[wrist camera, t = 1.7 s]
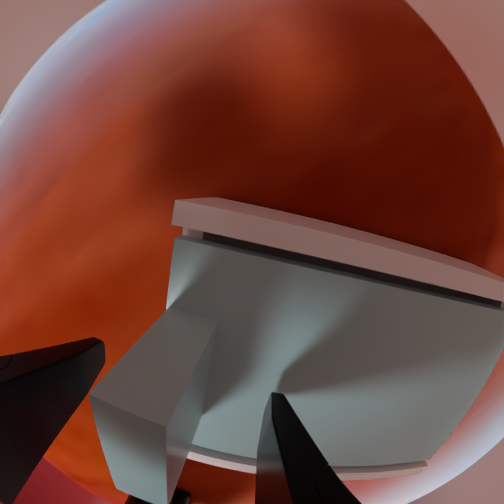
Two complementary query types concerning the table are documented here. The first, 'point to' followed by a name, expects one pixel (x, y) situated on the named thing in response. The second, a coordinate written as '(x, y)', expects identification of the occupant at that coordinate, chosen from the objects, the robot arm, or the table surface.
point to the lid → (290, 366)
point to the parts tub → (335, 257)
